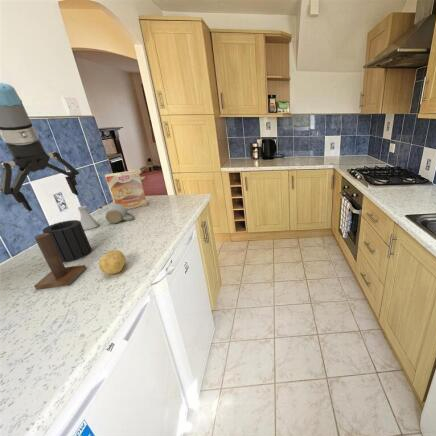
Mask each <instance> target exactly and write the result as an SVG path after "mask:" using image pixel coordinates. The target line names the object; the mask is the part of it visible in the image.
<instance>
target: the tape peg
mask: <svg viewBox="0 0 436 436" xmlns="http://www.w3.org/2000/svg"><path fill="white" fill-rule="evenodd" d="M33 237H34V240H35V242H36V244H37V246H38V248H39V250H40V252H41V253H42V256H43V258H44V260H45V262H46V265H48V267H49V269H50V272H48V273H47V274H46V275H45V276H44V277H43V278H41V279H40V280H38V282H37V283H35V284H34V285H33V287H34V288H35V290H43V289H52V288H59V287H66V286H71V285H72V284H73V283H74V282H75V281H76V280H77V279H78V278H79V277H80V276H81V275H82V274H83V273H84V272H85V271H86V270H87V267H86V264H81V265H72V266H65V264H64V262H62V260H61V257H60V255H59V253H58V251H57V249H56V247H55V245H54V243H53V241H52V239H51V237H50V234H49V233H40V234H37V235H35V236H33Z"/></svg>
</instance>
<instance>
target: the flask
mask: <svg viewBox="0 0 436 436" xmlns="http://www.w3.org/2000/svg"><path fill="white" fill-rule="evenodd" d="M87 208H88V206H87V205H82V206H78V207H77V210H78V211H79V214H80V220H79V221H80V222H81V224H82V227H83V229H84V231H86V230H92V229H94V228H97V227H99V225H100V224H99V222H97V220H96V219H95V218H94V217H93V216H92V215H91V214H90V212H89V210H88V209H87Z"/></svg>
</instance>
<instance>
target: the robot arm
mask: <svg viewBox="0 0 436 436" xmlns="http://www.w3.org/2000/svg"><path fill="white" fill-rule="evenodd" d="M0 137H1V139H2V141H3V142H4V143H5V146H6V148H7V150H8V152H9V153H10V155H11V156H12V160H11V161H5V160H1V161H0V167H1V178H0V193H1V194H3V195H5V196H8V195H11V196H12V197H13V198H14V200H15V202H17V203H19V204H21V205H23V207H24V209H25V210H27V211H29V212H32V211H33V208H32V207H31V205H30V203H29V202H28V200H27V198H26V197H25V195H24V193H23V192H21V189H22V186H23V185H24V183H25V181H26V178H27V176H29V174H30V173H35V172H38V171H43V170H46V168H49V169H52V170H54V171H55V172H58V173H60V174H62V175H64V178H65V180H66V183H67V185H68V187H69V189H70V191H71V193H72V194H73V195H74V196H78V195H79V192H78V189H77V185H78V182H77V180H76V177H77V176H78V175H80V171H78V169H76V168H75V167H74V166H72V165H71V164H70V163H69V162H67V161H66V160H65V159H64V158H63V157H62V156H61V154H60V153H59V152H57V151H55V150H51V151H50V152H48V153H47V152H46V150H45V148H44V145H43V144H42V142H41V141H40V140H39V136H38V133H37V132H36V130H35V128H34V125H33V123H32V121H31V119H30V117H29V115H28V113H27V110H26V108H25V106H24V104H23V100H22V99H21V97H20V96H19V94H18V93H17V91H16V88H15V87H13V86H12V85H11V84H9V83H4V82H0ZM50 158H51V159H53V160H56V161H57V162H58V163H60V164H61V165H62V166H64V167H65V168H66V169H67V170H68V171H66V170H65V169H63V168H60V167H58V166H56V165H54V164H52V163H49V161H50V160H51V159H50ZM15 166H17V167H18V169H17V173H16V175H15V177H14V179H13V180H12V177H13V175H12V174H13V169H14V168H15ZM69 171H70V172H69Z"/></svg>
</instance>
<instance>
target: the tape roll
mask: <svg viewBox="0 0 436 436" xmlns="http://www.w3.org/2000/svg"><path fill="white" fill-rule="evenodd" d="M80 221H81V220H77V219H71V220H63V221H59V222H55V223H53V224H50V225H48V226H46V227H44V228H43V229H42V232H43V233H49V234H50V237H51V239H52V241H53V243H54V245H55V247H56V249H57V251H58V253H59V255H60V257H61V260H62V262H63V263H69V262H75V261H77V260H81V259H83V258H84V257H86V256H88V255H90V253H92V251H93V249H92V246H91V244H90V242H89V239H88V237H87V235H86V232H85V230H84V229H83V227H82V224H81V222H80ZM43 233H42V234H43Z"/></svg>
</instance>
